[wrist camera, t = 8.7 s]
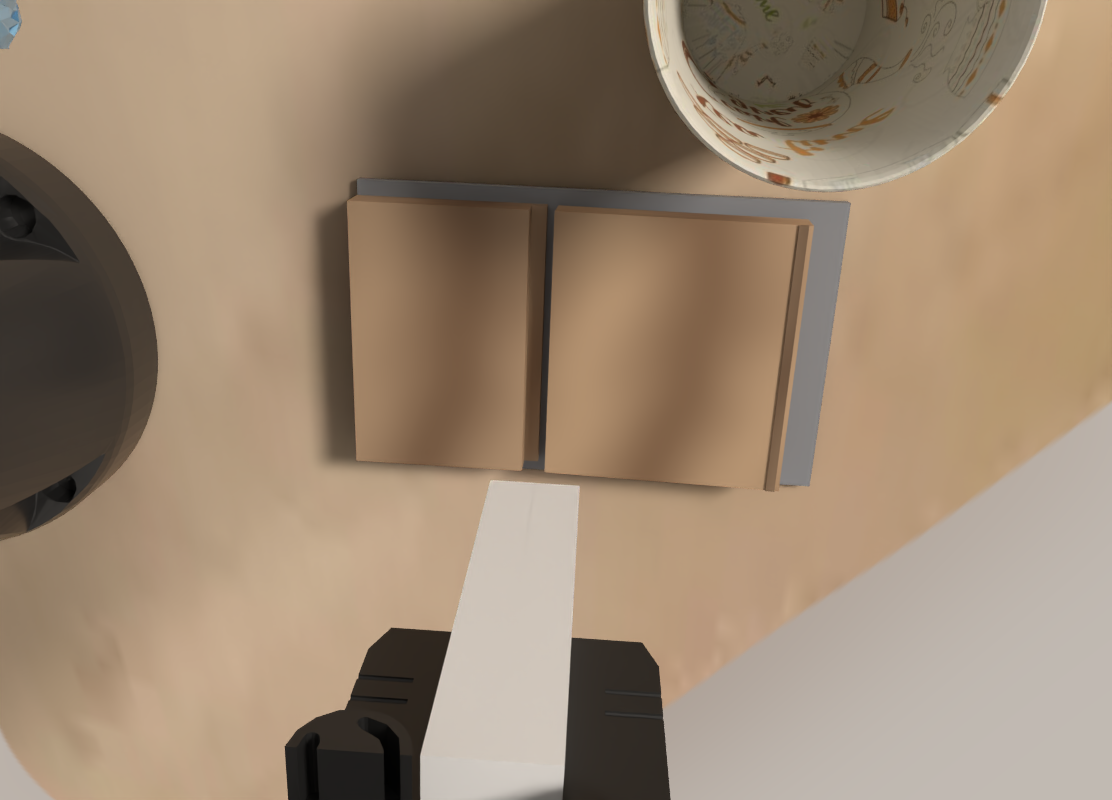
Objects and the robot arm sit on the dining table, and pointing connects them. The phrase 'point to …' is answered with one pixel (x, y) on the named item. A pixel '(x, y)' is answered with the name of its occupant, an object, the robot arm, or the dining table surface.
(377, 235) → the laid plank
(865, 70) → the mug
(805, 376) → the underlay
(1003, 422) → the dining table surface
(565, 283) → the plank
